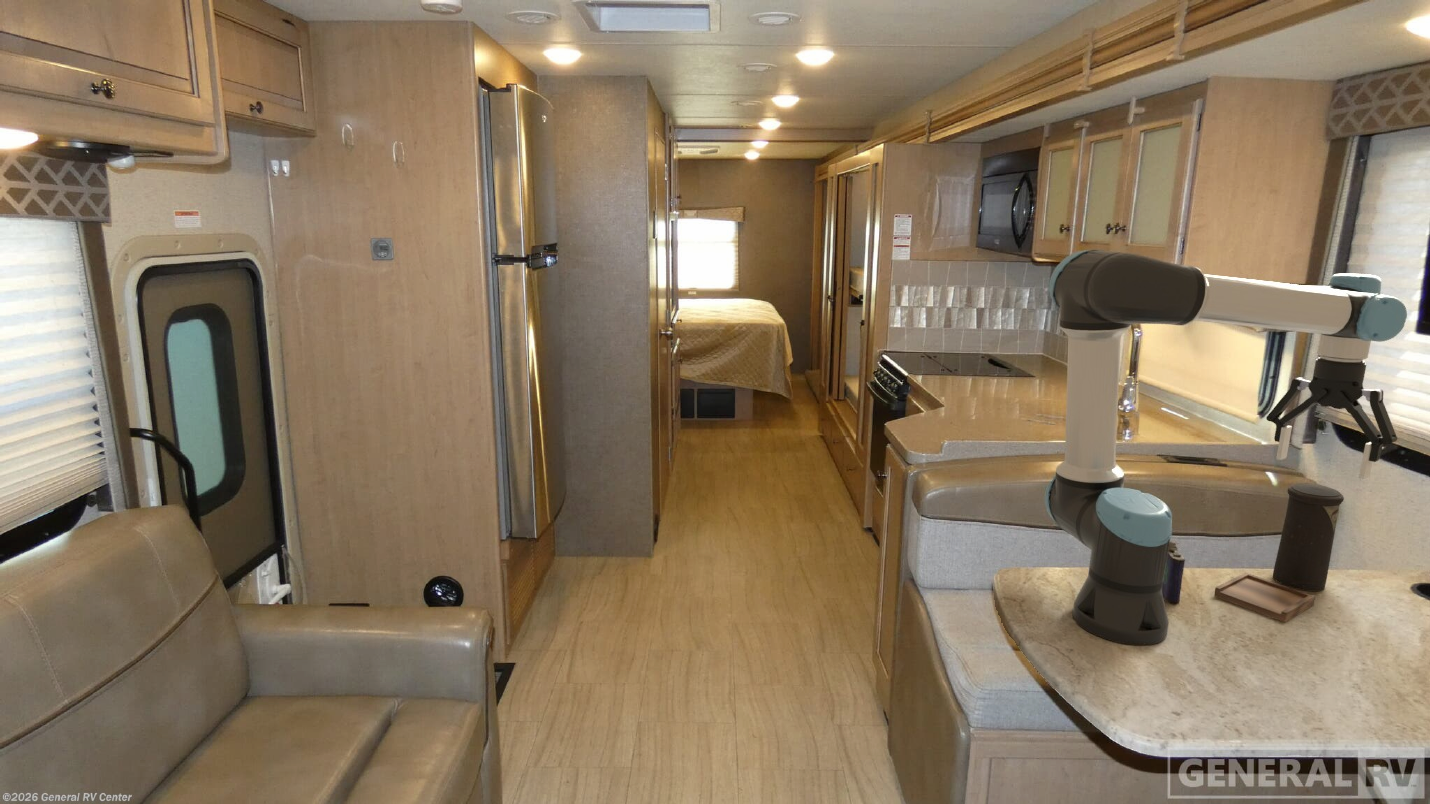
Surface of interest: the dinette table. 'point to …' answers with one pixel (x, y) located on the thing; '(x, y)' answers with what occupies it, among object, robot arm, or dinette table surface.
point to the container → (1307, 536)
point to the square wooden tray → (1265, 596)
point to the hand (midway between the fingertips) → (1321, 467)
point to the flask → (1173, 575)
